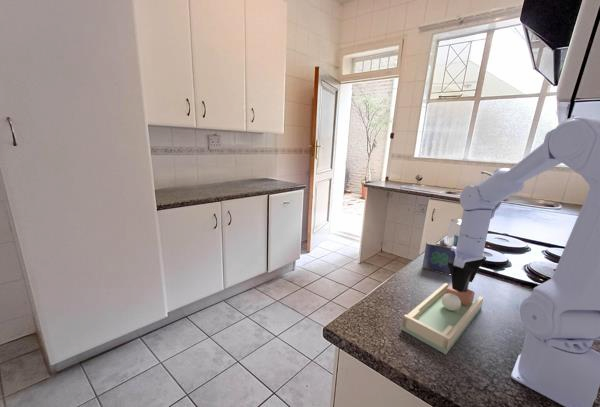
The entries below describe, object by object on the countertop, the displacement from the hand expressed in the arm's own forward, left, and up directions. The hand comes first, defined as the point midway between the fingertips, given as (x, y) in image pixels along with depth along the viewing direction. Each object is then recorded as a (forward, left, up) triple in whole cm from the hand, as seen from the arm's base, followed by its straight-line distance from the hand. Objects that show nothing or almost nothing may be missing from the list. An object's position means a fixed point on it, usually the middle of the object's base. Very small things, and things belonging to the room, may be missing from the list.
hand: (462, 285), depth 68 cm
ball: (0, +7, -2) cm, 7 cm away
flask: (+11, -15, -5) cm, 19 cm away
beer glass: (+10, -27, -5) cm, 29 cm away
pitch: (0, +10, -5) cm, 11 cm away
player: (0, +1, -4) cm, 4 cm away
